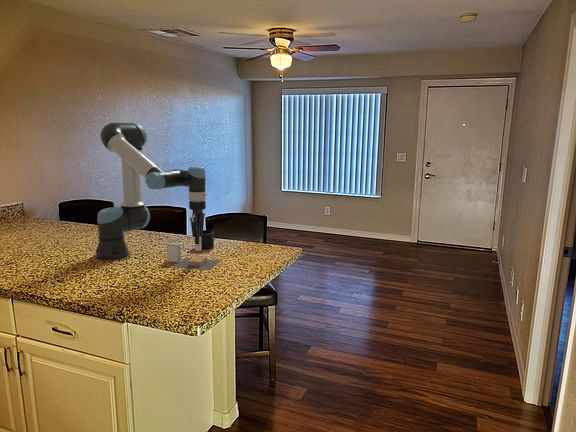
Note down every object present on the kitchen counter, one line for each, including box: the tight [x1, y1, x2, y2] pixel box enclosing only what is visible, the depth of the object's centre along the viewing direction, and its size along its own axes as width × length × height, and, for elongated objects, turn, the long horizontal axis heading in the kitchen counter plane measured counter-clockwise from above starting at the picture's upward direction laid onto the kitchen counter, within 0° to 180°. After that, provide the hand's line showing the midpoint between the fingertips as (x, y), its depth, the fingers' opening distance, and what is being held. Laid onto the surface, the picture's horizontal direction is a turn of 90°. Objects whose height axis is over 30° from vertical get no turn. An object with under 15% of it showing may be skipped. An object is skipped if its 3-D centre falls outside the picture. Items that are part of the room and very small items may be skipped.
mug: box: [201, 229, 215, 251], centre depth 238 cm, size 9×12×9 cm
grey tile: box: [166, 242, 182, 263], centre depth 213 cm, size 6×2×9 cm, turn 80°
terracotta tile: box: [188, 255, 208, 266], centre depth 211 cm, size 6×2×9 cm
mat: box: [172, 257, 222, 271], centre depth 211 cm, size 18×16×1 cm
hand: (198, 250), depth 210 cm, fingers closed
